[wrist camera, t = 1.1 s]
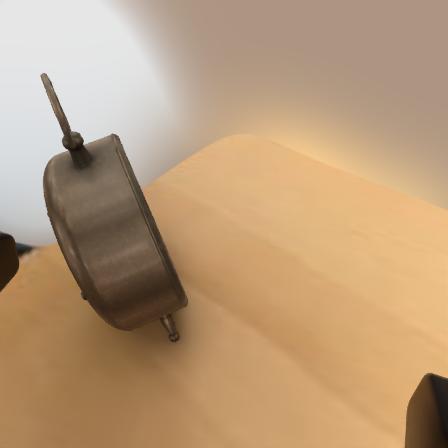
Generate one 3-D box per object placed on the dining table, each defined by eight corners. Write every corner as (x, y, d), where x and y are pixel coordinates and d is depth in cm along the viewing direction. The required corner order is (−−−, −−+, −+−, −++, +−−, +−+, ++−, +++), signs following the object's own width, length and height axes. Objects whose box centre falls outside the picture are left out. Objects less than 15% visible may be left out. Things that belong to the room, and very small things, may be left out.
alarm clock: (206, 346, 24) (134, 112, 13) (122, 382, 23) (-38, 164, 12) (159, 234, 32) (88, 24, 20) (95, 258, 30) (-19, 50, 19)
